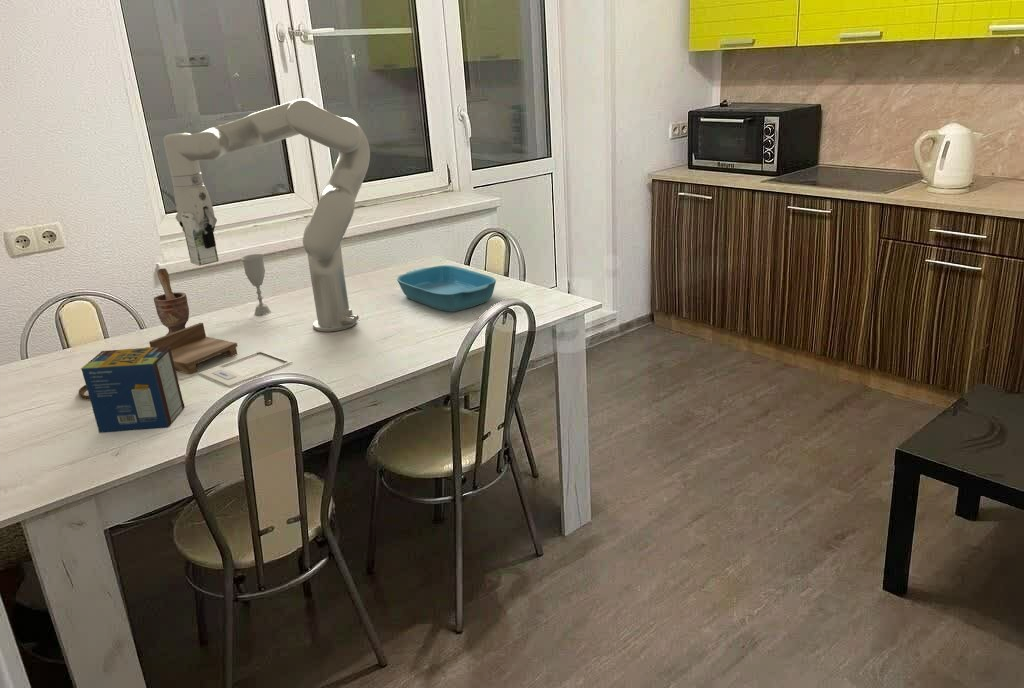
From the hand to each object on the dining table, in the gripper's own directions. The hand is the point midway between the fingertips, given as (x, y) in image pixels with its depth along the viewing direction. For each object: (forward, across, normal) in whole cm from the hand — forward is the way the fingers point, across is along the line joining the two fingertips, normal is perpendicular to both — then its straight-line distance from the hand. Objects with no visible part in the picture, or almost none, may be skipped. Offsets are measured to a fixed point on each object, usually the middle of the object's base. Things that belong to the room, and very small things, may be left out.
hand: (201, 245), depth 210 cm
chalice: (+28, +7, -22) cm, 36 cm away
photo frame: (+28, -26, +13) cm, 40 cm away
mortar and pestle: (+27, +13, +5) cm, 31 cm away
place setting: (+28, -4, +34) cm, 44 cm away
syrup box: (+5, 0, 0) cm, 5 cm away
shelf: (+27, -8, +14) cm, 32 cm away
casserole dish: (+28, -40, -55) cm, 74 cm away
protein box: (+28, -28, +44) cm, 59 cm away
